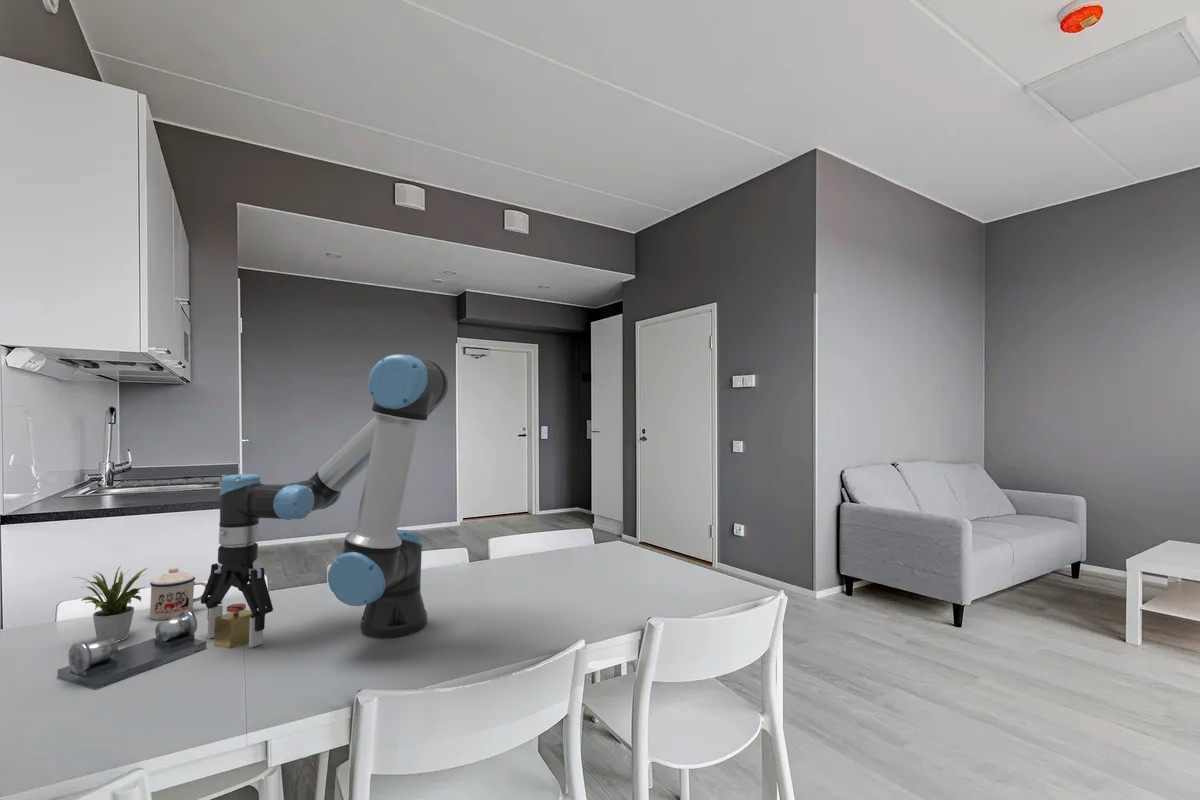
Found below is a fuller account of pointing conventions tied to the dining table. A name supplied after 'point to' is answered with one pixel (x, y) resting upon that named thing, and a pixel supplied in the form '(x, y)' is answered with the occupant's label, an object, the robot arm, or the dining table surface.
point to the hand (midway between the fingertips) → (234, 640)
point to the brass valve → (232, 626)
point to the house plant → (113, 607)
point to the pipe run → (131, 653)
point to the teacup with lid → (172, 594)
